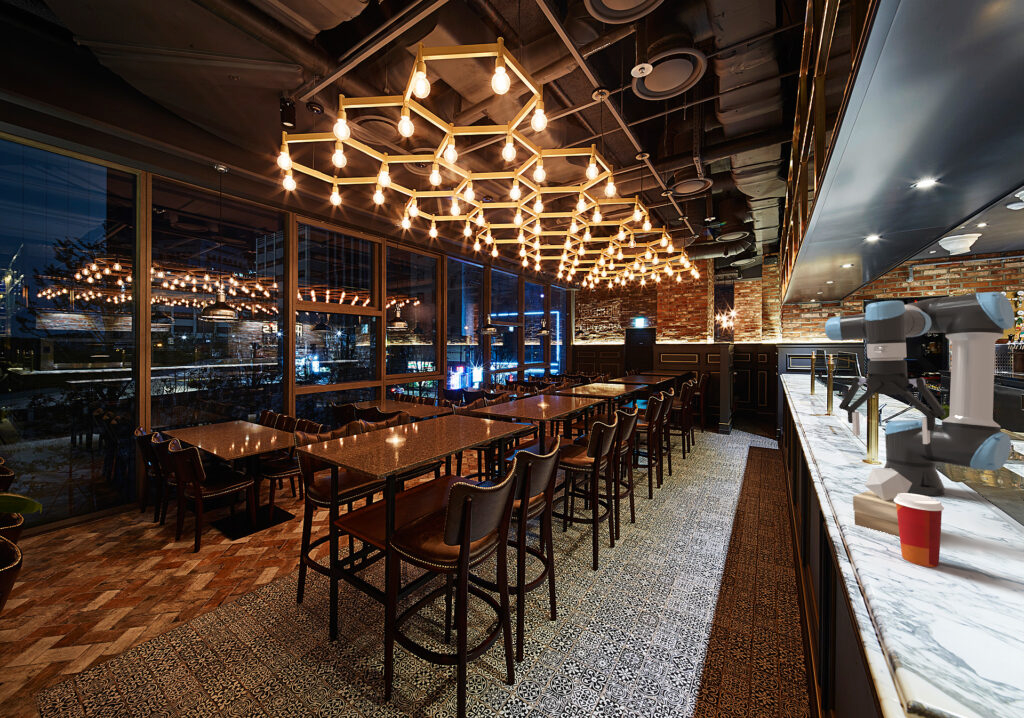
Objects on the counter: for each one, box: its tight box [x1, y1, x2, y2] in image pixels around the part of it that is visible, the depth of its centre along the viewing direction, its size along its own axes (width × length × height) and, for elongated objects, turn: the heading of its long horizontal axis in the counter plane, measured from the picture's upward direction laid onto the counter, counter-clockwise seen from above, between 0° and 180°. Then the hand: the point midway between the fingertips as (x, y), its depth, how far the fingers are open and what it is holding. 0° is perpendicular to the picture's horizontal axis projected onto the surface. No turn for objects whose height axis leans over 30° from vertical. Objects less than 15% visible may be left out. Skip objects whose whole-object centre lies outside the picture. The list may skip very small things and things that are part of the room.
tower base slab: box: [853, 511, 900, 538], centre depth 102 cm, size 11×11×4 cm
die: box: [864, 467, 912, 501], centre depth 102 cm, size 8×9×10 cm
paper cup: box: [894, 493, 945, 569], centre depth 85 cm, size 8×8×14 cm
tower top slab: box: [852, 489, 898, 523], centre depth 102 cm, size 11×11×4 cm
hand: (889, 439), depth 102 cm, fingers open, 13 cm apart
